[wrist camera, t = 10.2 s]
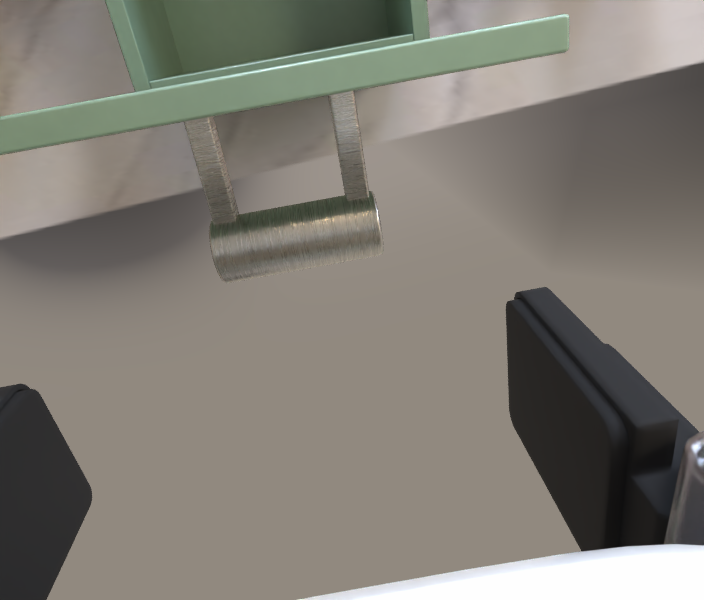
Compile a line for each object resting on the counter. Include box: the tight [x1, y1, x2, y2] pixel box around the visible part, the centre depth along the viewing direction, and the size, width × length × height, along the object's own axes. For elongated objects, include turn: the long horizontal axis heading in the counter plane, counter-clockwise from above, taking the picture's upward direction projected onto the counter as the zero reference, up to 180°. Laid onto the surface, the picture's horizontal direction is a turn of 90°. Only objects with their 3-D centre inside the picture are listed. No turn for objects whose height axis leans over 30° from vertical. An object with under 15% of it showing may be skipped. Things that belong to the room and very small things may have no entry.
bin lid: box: [0, 14, 569, 283], centre depth 19 cm, size 14×15×6 cm
